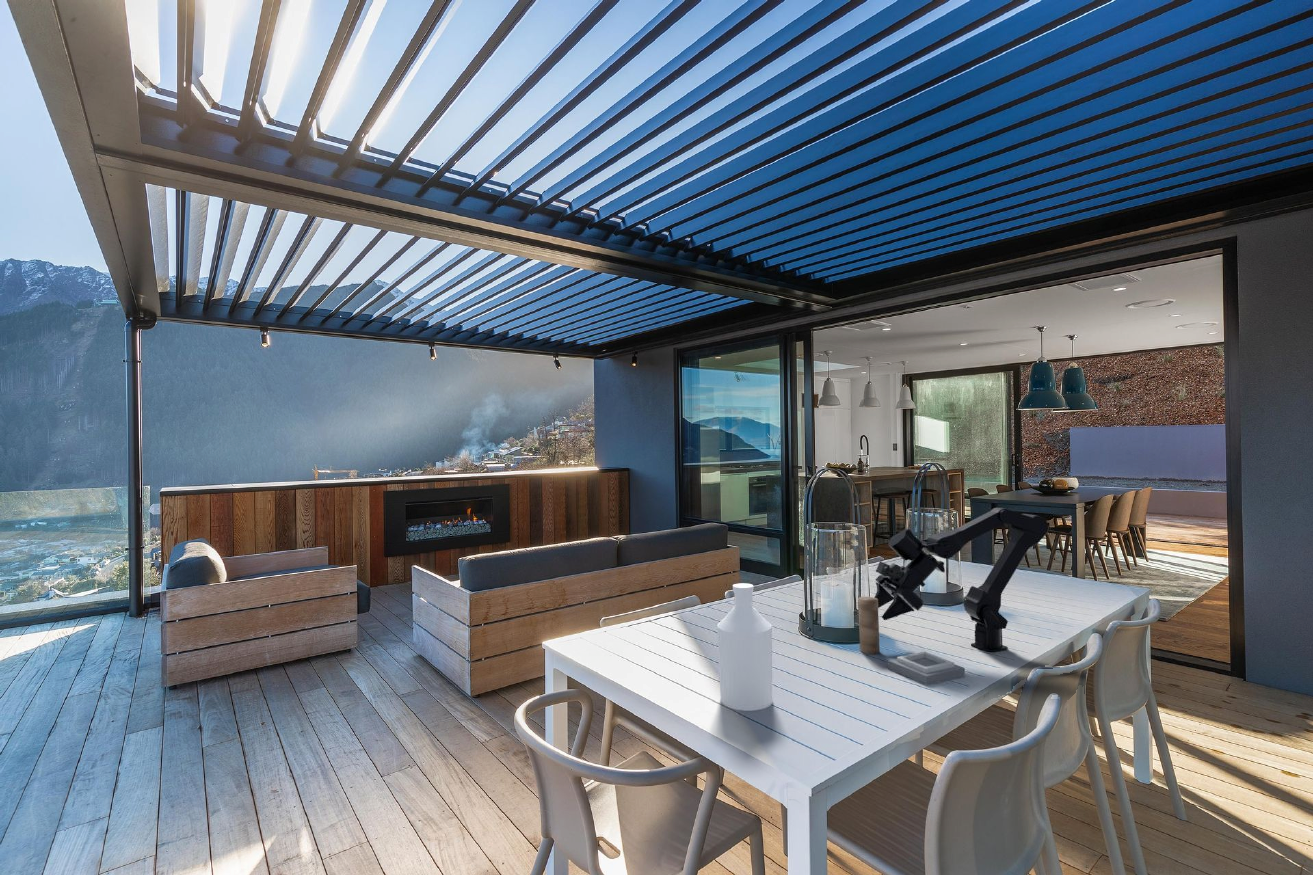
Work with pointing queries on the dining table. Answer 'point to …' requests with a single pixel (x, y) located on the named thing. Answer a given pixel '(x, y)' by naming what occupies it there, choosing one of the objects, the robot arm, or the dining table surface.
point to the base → (926, 668)
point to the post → (868, 625)
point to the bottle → (745, 654)
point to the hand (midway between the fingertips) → (876, 614)
